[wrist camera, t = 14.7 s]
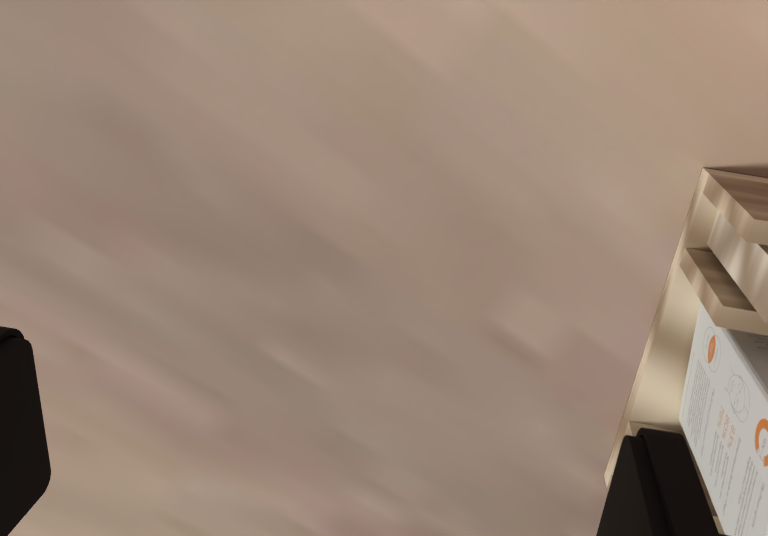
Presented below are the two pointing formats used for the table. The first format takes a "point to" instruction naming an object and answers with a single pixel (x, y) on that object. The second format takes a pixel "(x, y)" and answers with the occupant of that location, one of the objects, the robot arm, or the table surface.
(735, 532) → the small box
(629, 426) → the book rack
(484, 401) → the table surface
